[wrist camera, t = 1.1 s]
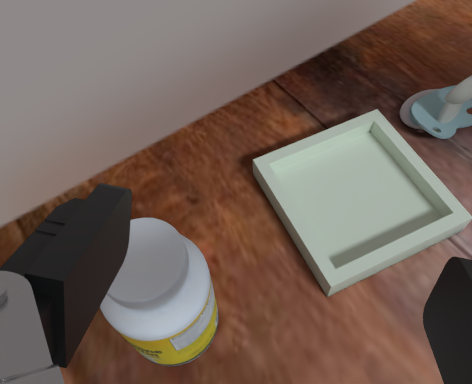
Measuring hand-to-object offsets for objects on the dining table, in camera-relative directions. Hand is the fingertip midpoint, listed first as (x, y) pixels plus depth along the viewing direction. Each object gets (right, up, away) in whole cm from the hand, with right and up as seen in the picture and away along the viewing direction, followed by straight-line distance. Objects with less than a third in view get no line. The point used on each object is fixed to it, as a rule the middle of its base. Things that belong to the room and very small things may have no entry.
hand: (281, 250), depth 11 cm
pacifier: (+18, +8, +31) cm, 36 cm away
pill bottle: (-6, -8, +21) cm, 23 cm away
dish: (+9, +1, +26) cm, 27 cm away
